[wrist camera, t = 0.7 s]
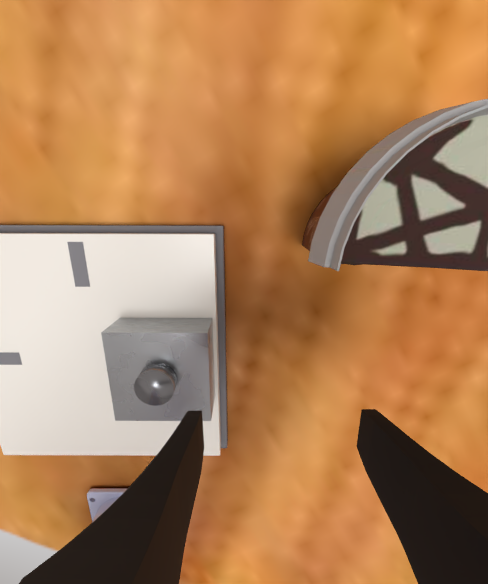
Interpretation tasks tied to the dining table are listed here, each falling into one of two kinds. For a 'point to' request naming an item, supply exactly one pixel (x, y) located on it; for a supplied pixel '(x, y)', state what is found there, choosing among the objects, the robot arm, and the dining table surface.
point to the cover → (160, 368)
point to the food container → (412, 198)
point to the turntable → (91, 334)
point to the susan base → (163, 229)
